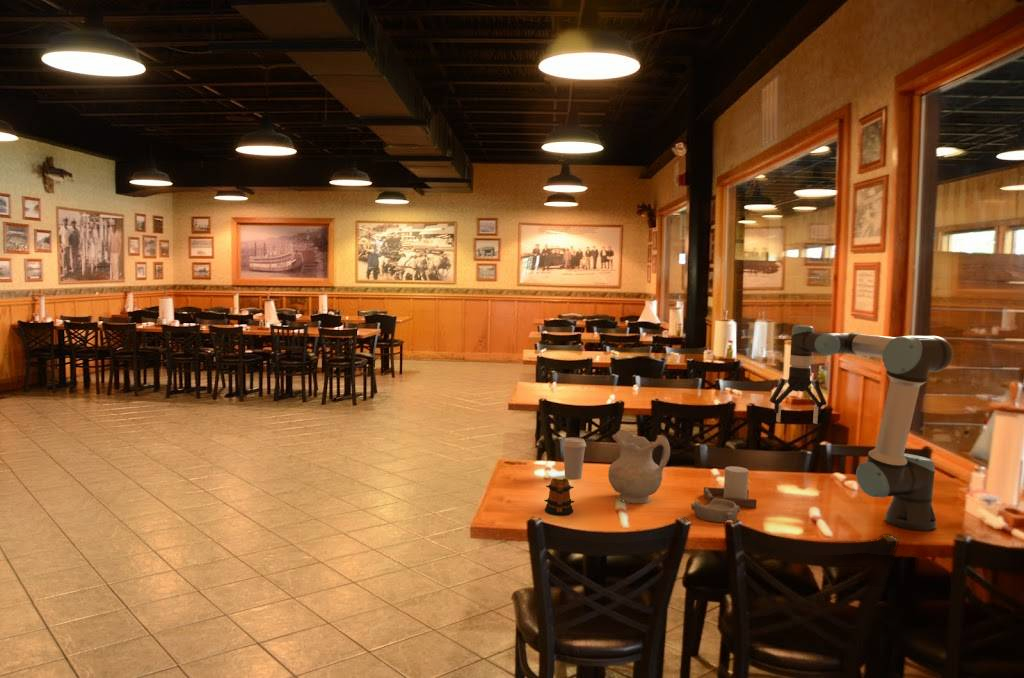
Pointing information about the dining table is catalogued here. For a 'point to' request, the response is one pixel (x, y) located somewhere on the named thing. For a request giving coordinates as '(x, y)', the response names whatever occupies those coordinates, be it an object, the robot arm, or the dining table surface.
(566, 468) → the coffee cup
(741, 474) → the cup
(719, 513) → the dish
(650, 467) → the ceramic pitcher
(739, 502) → the u rest
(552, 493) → the brown tiered piece
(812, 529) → the dining table surface
